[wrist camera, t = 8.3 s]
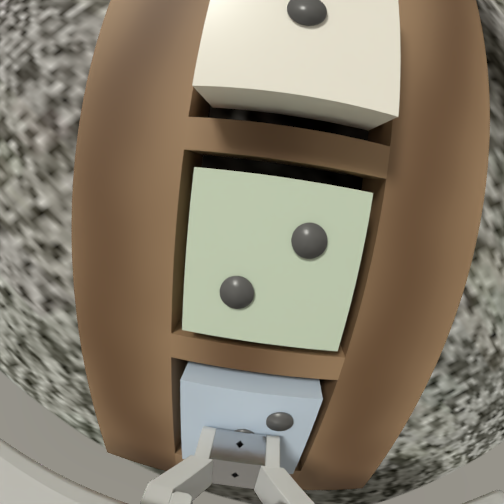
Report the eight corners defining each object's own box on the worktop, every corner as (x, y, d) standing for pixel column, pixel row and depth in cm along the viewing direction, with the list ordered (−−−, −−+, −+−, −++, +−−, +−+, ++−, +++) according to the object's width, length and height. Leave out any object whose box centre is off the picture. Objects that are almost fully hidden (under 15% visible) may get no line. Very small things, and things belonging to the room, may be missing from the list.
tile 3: (315, 360, 12) (323, 401, 9) (291, 437, 13) (293, 475, 11) (196, 344, 12) (179, 381, 10) (193, 423, 13) (181, 460, 11)
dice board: (450, 19, 8) (475, -2, 6) (355, 457, 14) (362, 488, 12) (152, -24, 9) (132, -51, 6) (123, 424, 15) (107, 452, 12)
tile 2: (351, 189, 10) (374, 193, 8) (326, 317, 11) (337, 353, 9) (212, 169, 10) (193, 167, 8) (199, 299, 12) (181, 331, 9)
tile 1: (373, 8, 7) (396, -28, 5) (368, 130, 9) (400, 116, 6) (234, -12, 8) (223, -54, 5) (212, 107, 9) (191, 84, 6)
